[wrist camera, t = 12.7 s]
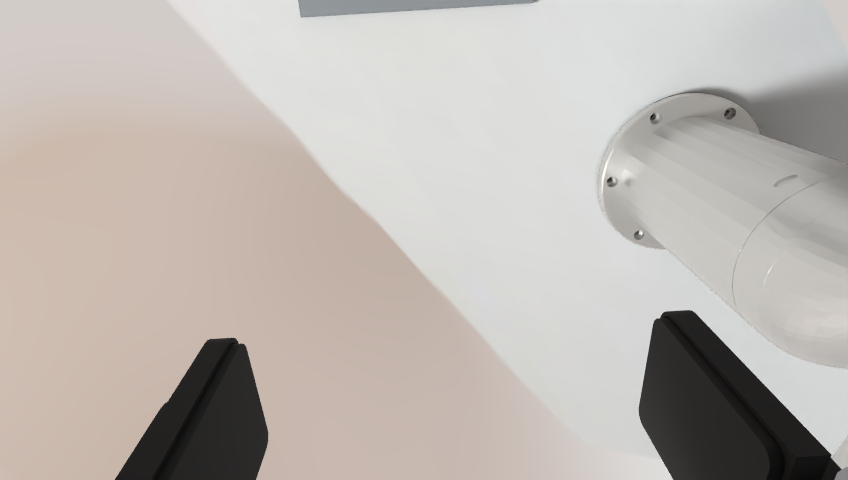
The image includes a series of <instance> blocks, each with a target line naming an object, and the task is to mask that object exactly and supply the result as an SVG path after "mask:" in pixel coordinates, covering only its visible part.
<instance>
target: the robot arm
mask: <svg viewBox="0 0 848 480" xmlns="http://www.w3.org/2000/svg"><path fill="white" fill-rule="evenodd" d="M725 111H726V112H725ZM652 114H653V115H654V116H653V118H652V119H650V117H651V115H652ZM610 177H611V179H610V180H609V181H607V179H608V178H610ZM598 197H599V201H600V205H601V208H602V211H603V212H604V214H605V216H606V218H607V220H608V221H609V222H610V224H611V225H612V226H613V227H614V228H615V229H616V230H617V231H618V232H619V233H620V234H621V235H622V236H623V237H625V238H626V239H628V240H629V241H631V242H633V243H635V244H638V245H641V246H644V247H647V248H654V249H667V250H668V251H669V252H670V253H671V254H672V255H673V256H675V257H676V258H677V259H678V260H679V261H680V262H681V263H682V264H683V265H684V266H686V267H687V268H688V269H689V270H690V271H691V272H692V273H693V274H694V275H695V276H697V277H698V278H699V279H700V280H701V281H702V282H703V283H704V284H705V285H706V286H708V287H709V288H710V289H711V290H712V291H713V292H714V293H715V294H716V295H718V296H719V297H720V298H721V299H722V300H723V301H724V302H725V303H726V304H727V305H729V306H730V307H731V308H732V309H733V310H734V311H735V312H736V313H737V314H738V315H740V316H741V317H742V318H743V319H744V320H745V321H746V322H747V323H748V324H749V325H751V326H752V327H753V328H754V329H755V330H756V331H757V332H758V333H760V334H761V335H762V336H763V337H764V338H766V339H767V340H768V341H769V342H771V343H772V344H773V345H775V346H776V347H778V348H780V349H781V350H783V351H785V352H786V353H788V354H790V355H792V356H795V357H797V358H800V359H803V360H805V361H808V362H811V363H815V364H819V365H824V366H829V367H835V368H842V369H848V164H847V163H844V162H841V161H838V160H835V159H832V158H829V157H826V156H823V155H820V154H817V153H814V152H811V151H808V150H805V149H802V148H799V147H796V146H793V145H790V144H787V143H784V142H781V141H778V140H775V139H772V138H769V137H766V136H763V135H761V134H760V132H759V129H758V126H757V125H756V123H755V122H754V120H753V119H752V117H751V116H750V114H748V113H747V112H746V111H745V110H744V109H743V108H742V107H741V106H739V105H738V104H736V103H734V102H732V101H730V100H728V99H726V98H722V97H719V96H715V95H710V94H703V93H687V94H679V95H675V96H671V97H667V98H665V99H662V100H660V101H658V102H656V103H653V104H651V105H649V106H648V107H646V108H645V109H643V110H642V111H640V112H639V113H637V114H636V115H635V116H634V117H632V118H631V119H630V120H629V121H628V122H627V123H626V124H625V125H624V126H623V127H622V128H621V129H620V131H619V132H618V133H617V134H616V136H615V137H614V138H613V140H612V141H611V143H610V145H609V147H608V149H607V150H606V152H605V154H604V157H603V160H602V163H601V166H600V170H599V176H598ZM636 231H637V232H636ZM635 232H636V233H635ZM639 416H640V420H641V423H642V425H643V427H644V429H645V430H646V432H647V434H648V436H649V437H650V439H651V441H652V443H653V444H654V446H655V448H656V450H657V452H658V453H659V455H660V457H661V459H662V460H663V462H664V464H665V466H666V467H667V469H668V471H669V473H670V474H671V476H672V478H673V480H848V436H847V438H846V439H845V440H844V442H843V443H842V444H841V446H840V447H839V448H838V450H837V451H836V452H835V454H834V455H833V456H832V458H831V454H830V453H829V452H828V451H827V450H826V449H825V448H824V447H823V446H822V445H821V444H820V443H819V441H818V440H817V439H816V438H815V437H814V436H813V435H812V434H811V433H810V432H809V431H808V430H807V429H806V428H805V427H804V426H803V425H802V424H801V423H800V422H799V421H798V420H797V419H796V418H795V416H794V415H793V414H792V413H791V412H790V411H789V410H788V409H787V408H786V407H785V406H784V405H783V404H782V403H781V402H780V401H779V400H778V399H777V398H776V397H775V396H774V395H773V394H772V393H771V391H770V390H769V389H768V388H767V387H766V386H765V385H764V384H763V383H762V382H761V381H760V380H759V379H758V378H757V377H756V376H755V375H754V374H753V373H752V372H751V371H750V370H749V369H748V368H747V367H746V365H745V364H744V363H743V362H742V361H741V360H740V359H739V358H738V357H737V356H736V355H735V354H734V353H733V352H732V351H731V350H730V349H729V348H728V347H727V346H726V345H725V344H724V343H723V342H722V340H721V339H720V338H719V337H718V336H717V335H716V334H715V333H714V332H713V331H712V330H711V329H710V328H709V327H708V326H707V325H706V324H705V323H704V322H703V321H702V320H701V319H700V318H699V317H698V315H697V314H696V313H694V312H693V311H690V310H685V311H669V312H664V313H663V314H662V315H661V318H659V319H656V320H655V321H654V324H653V329H652V334H651V340H650V346H649V352H648V358H647V364H646V369H645V375H644V381H643V387H642V393H641V398H640V404H639ZM267 444H268V430H267V426H266V422H265V418H264V414H263V411H262V406H261V402H260V398H259V395H258V391H257V387H256V383H255V379H254V375H253V372H252V368H251V364H250V360H249V356H248V352H247V349H246V346H245V345H244V344H239V343H238V341H237V340H236V339H235V338H223V339H210V340H207V342H206V343H205V344H204V346H203V347H202V349H201V350H200V352H199V354H198V355H197V357H196V358H195V360H194V362H193V363H192V365H191V366H190V368H189V369H188V371H187V372H186V374H185V376H184V377H183V379H182V380H181V382H180V384H179V385H178V387H177V388H176V390H175V391H174V393H173V394H172V396H171V398H170V399H169V401H168V402H167V403H165V404H164V405H163V406H162V408H161V409H160V410H159V412H158V414H157V415H156V416H155V418H154V420H153V421H152V423H151V424H150V426H149V427H148V429H147V430H146V432H145V434H144V435H143V437H142V438H141V440H140V441H139V443H138V444H137V446H136V448H135V449H134V451H133V452H132V454H131V455H130V457H129V458H128V460H127V462H126V463H125V465H124V466H123V468H122V470H121V471H120V472H119V474H118V476H117V477H116V479H115V480H256V478H257V475H258V472H259V469H260V466H261V463H262V460H263V457H264V454H265V451H266V448H267Z"/></svg>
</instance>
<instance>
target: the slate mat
mask: <svg viewBox="0 0 848 480" xmlns="http://www.w3.org/2000/svg"><path fill="white" fill-rule="evenodd" d="M298 2H299V8H300V15H301V17H315V16H331V15H347V14H363V13H379V12H396V11H412V10H428V9H444V8H460V7H476V6H493V5H509V4H525V3H533V0H298Z"/></svg>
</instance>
